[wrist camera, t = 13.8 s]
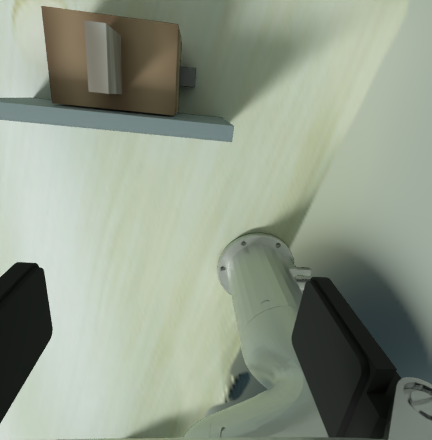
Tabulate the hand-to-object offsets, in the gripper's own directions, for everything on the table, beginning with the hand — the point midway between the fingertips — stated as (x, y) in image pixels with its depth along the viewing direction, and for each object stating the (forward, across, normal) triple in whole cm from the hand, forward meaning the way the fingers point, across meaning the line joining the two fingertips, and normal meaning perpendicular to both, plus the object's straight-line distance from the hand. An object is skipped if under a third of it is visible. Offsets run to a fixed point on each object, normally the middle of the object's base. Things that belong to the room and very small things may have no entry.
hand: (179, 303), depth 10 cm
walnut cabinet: (+32, +8, -9) cm, 35 cm away
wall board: (+32, +8, -4) cm, 34 cm away
